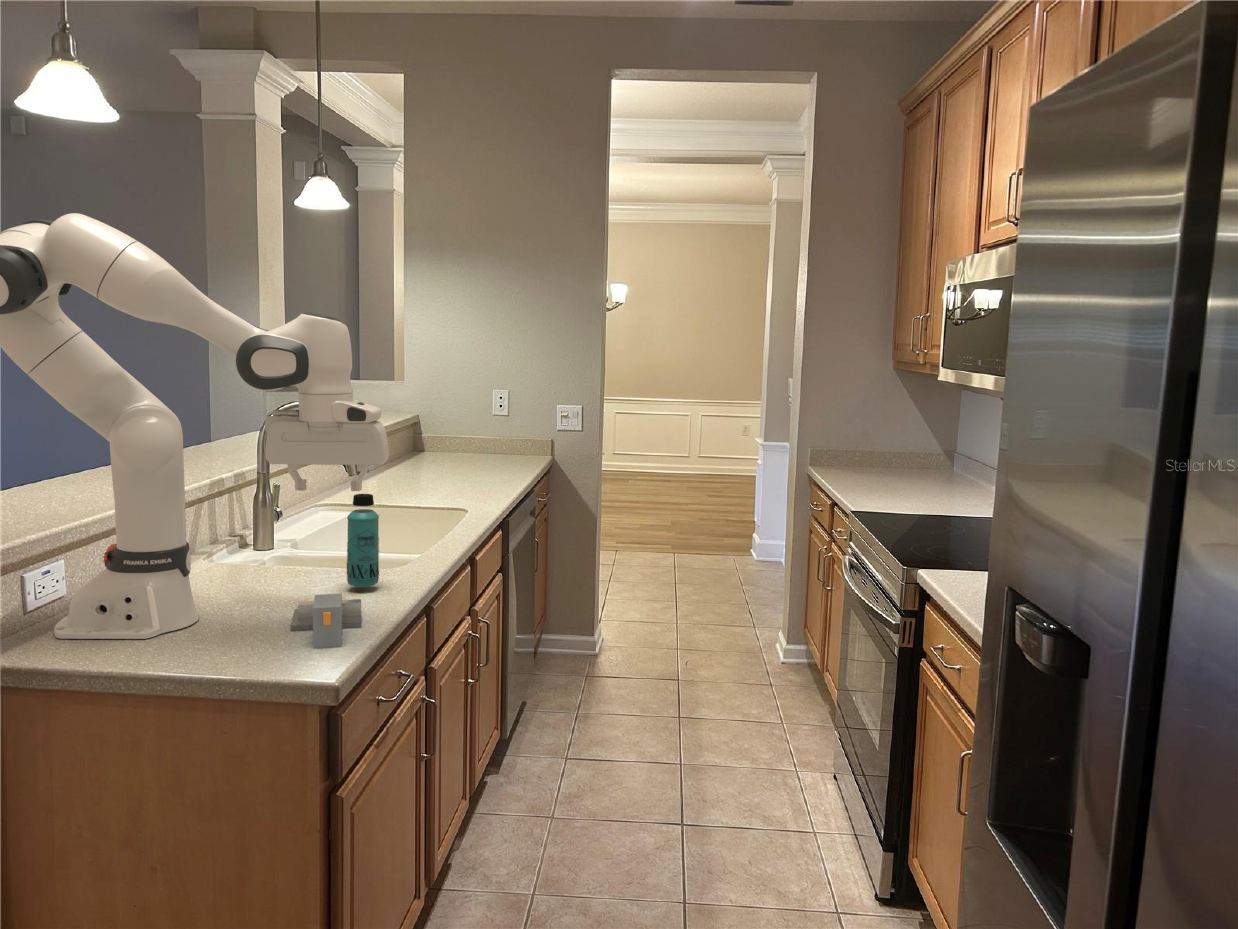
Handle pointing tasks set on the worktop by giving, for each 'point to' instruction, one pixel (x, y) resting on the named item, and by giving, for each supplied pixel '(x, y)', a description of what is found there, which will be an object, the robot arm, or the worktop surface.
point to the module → (327, 621)
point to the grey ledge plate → (305, 615)
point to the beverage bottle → (363, 543)
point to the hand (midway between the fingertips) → (328, 490)
